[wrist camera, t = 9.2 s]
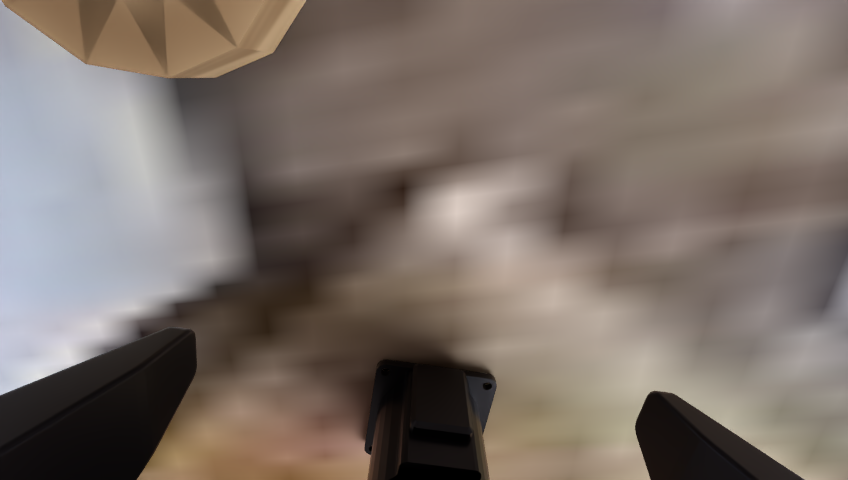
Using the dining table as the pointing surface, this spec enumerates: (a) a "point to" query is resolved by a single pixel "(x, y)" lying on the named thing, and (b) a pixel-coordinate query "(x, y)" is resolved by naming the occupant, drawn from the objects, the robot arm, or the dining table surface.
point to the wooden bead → (163, 32)
